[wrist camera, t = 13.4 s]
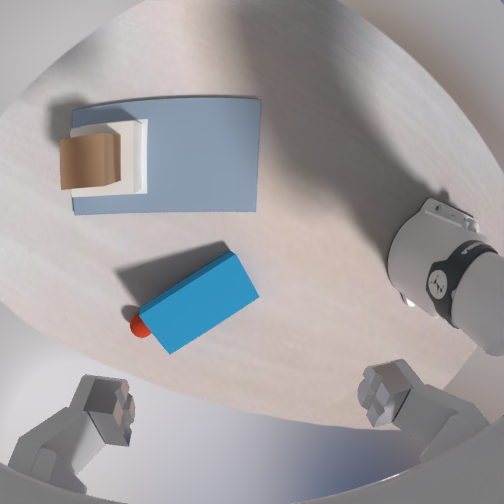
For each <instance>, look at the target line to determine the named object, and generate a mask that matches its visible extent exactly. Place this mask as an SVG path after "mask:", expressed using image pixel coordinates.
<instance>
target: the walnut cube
mask: <svg viewBox="0 0 504 504" xmlns="http://www.w3.org/2000/svg"><path fill="white" fill-rule="evenodd" d="M60 175H61V190H65V189H76V188H88V187H101V186H107V185H110V184H112V183H115V182H118V181H121V135H116V134H108V133H100V134H92V135H85V136H78V137H72V138H66V139H60Z"/></svg>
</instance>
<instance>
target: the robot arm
mask: <svg viewBox="0 0 504 504" xmlns="http://www.w3.org/2000/svg"><path fill="white" fill-rule="evenodd" d="M388 274H389V278H390V280H391V282H392V284H393V286H394V287H395V288H396V289H397V290H398V291H399V292H401V294H402V296H403V299H404V302H405V304H406V305H408V306H409V307H413V306H415V305H417V306H418V307H419V308H421V309H422V310H424V311H425V312H426V313H428V314H429V315H431V316H432V317H434V318H438V317H442V319H444V321H445V322H446V323H448V324H449V325H451V326H453V327H454V328H457V329H461V330H462V331H463V332H464V333H465V334H466V335H467V336H469V337H470V338H471V339H472V340H473V341H474V342H475V343H476V344H477V345H478V346H480V347H481V348H482V349H483V350H484V351H485V352H486V353H487V354H489V355H491V356H503V355H504V257H502V256H500V255H499V254H498V253H497V252H496V251H495V250H494V249H493V248H492V247H491V246H490V244H489V240H488V238H487V237H486V236H484V235H482V234H480V233H479V222H478V221H477V220H476V219H474V218H472V217H470V216H468V215H466V214H464V213H462V212H460V211H458V210H456V209H454V208H452V207H450V206H448V205H446V204H443V203H441V202H439V201H437V200H435V199H432V198H429V199H428V200H426V202H425V203H424V205H423V206H422V208H421V209H420V211H419V212H418V213H417V214H416V215H414V216H413V217H411V218H410V219H409V220H408V221H407V222H406V223H405V224H404V225H403V226H402V227H401V228H400V230H399V231H398V233H397V235H396V236H395V238H394V240H393V243H392V245H391V248H390V252H389V257H388ZM363 375H364V377H365V379H364V380H363V381H362V382H361V383H360V384H359V387H358V399H359V402H360V404H361V406H362V407H364V408H365V409H367V410H368V411H367V414H366V415H367V417H368V419H369V421H370V423H371V425H372V426H373V428H374V427H378V426H382V425H385V424H389V423H392V422H393V423H392V424H394V425H395V426H397V427H398V428H400V429H401V430H403V431H405V432H406V433H407V434H409V435H410V436H412V437H413V438H415V439H416V440H418V441H419V442H421V443H422V444H424V445H426V446H427V448H426V449H425V451H424V452H423V453H422V454H421V456H420V459H421V461H422V464H420V465H418V466H415V467H413V468H411V469H408V470H406V471H404V472H401V473H399V474H396V475H394V476H391V477H389V478H386V479H383V480H380V481H378V482H375V483H372V484H369V485H366V486H363V487H360V488H356V489H353V490H350V491H346V492H343V493H339V494H335V495H331V496H327V497H323V498H319V499H313V500H309V501H303V502H298V503H292V504H504V415H503V416H501V417H500V418H499V419H498V420H496V421H495V422H493V423H492V424H490V423H489V422H488V421H487V419H486V418H485V417H484V416H483V414H482V413H481V412H480V411H479V410H478V408H477V407H476V406H475V405H474V404H472V403H470V402H468V401H465V400H463V399H461V398H458V397H456V396H454V395H451V394H449V393H447V392H445V391H442V390H440V389H438V388H435V387H433V386H431V385H429V384H426V385H424V383H423V382H422V381H421V380H420V378H419V377H418V376H417V375H416V373H415V372H414V371H413V370H412V368H411V367H410V366H409V365H408V364H407V362H406V361H405V360H403V359H398V360H394V361H391V362H386V363H381V364H377V365H372V366H368V367H367V368H366V369H365V370H364V373H363ZM128 391H129V385H128V382H127V380H125V379H117V378H109V377H101V376H93V375H87V374H85V375H84V376H83V377H82V378H81V381H80V383H79V385H78V388H77V390H76V392H75V394H74V397H73V399H72V401H71V404H70V406H69V408H67V407H65V408H63V409H62V410H60V411H59V412H57V413H56V414H54V415H53V416H51V417H50V418H48V419H47V420H45V421H44V422H43V423H41V424H39V425H38V426H36V427H35V428H33V429H32V430H30V431H29V432H27V433H26V434H24V435H23V436H21V437H20V438H19V439H18V442H17V444H16V447H15V449H14V451H13V454H12V456H11V458H10V461H9V463H8V466H6V465H4V464H2V463H0V504H126V503H120V502H115V501H110V500H106V499H101V498H96V497H93V496H89V495H86V492H87V487H86V486H85V485H84V484H83V483H82V482H81V481H80V480H79V478H77V476H76V475H77V474H78V473H79V472H80V471H81V470H82V469H83V468H84V467H85V466H86V465H87V464H88V463H89V462H90V461H91V460H92V459H93V458H94V456H96V455H97V454H98V453H99V452H100V451H101V449H102V448H103V447H104V446H105V445H106V444H112V445H119V446H129V443H130V438H131V433H132V431H131V429H130V426H129V425H130V424H131V423H133V422H134V417H135V404H134V400H133V397H132V396H131V395H130V394H129V393H128Z"/></svg>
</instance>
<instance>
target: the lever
mask: <svg viewBox="0 0 504 504" xmlns="http://www.w3.org/2000/svg"><path fill="white" fill-rule="evenodd" d="M257 298H259V295H258V293H257V291H256V290H255V288H254V286H253V284H252V283H251V281H250V279H249V277H248V275H247V274H246V272H245V270H244V268H243V266H242V265H241V263H240V261H239V259H238V257H237V255H236V254H234V253H233V252H231V251H230V252H228V253H226V254H224V255H222V256H220V257H219V258H217V259H216V260H214V261H212V262H211V263H209V264H208V265H206V266H204V267H203V268H201V269H200V270H198V271H197V272H195V273H193V274H192V275H190V276H189V277H187V278H186V279H184V280H182V281H181V282H179V283H178V284H176V285H175V286H173V287H171V288H170V289H168V290H167V291H165V292H164V293H162V294H160V295H159V296H157V297H156V298H154V299H153V300H151V301H150V302H148V303H146V304H145V305H143V306H142V307H140V308H139V315H136V316H135V317H133V318H132V320H131V322H130V328H131V331H132V333H133V334H134V335H135V336H137V337H140V338H144V337H147V336H149V335H150V333H151V332H152V333H153V335H154V336H155V337H156V338H157V340H158V341H159V342H160V343H161V345H162V346H163V347H164V348H165V350H166V351H167V352H168V353H169V354H172V353H173V352H175V351H176V350H178V349H180V348H181V347H183V346H184V345H186V344H188V343H189V342H191V341H192V340H194V339H196V338H197V337H199V336H200V335H202V334H203V333H205V332H207V331H208V330H210V329H211V328H213V327H214V326H216V325H218V324H219V323H221V322H222V321H224V320H225V319H227V318H228V317H230V316H231V315H233V314H234V313H236V312H237V311H239V310H240V309H242V308H244V307H245V306H247V305H248V304H250V303H251V302H253V301H254V300H256V299H257Z"/></svg>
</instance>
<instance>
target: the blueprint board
mask: <svg viewBox="0 0 504 504" xmlns="http://www.w3.org/2000/svg"><path fill="white" fill-rule="evenodd" d="M260 106H261V99H243V98H173V99H156V100H143V101H132V102H123V103H115V104H107V105H101V106H94V107H88V108H82V109H77V110H73V114H72V129H73V128H79V127H85V126H92V125H99V124H107V123H116V122H125V121H136V122H139V123H142V124H143V130H142V189H141V190H139V191H137V192H136V193H134V194H114V195H97V196H83V197H73V202H74V214H75V215H93V214H117V213H150V212H256V202H257V178H258V154H259V130H260Z"/></svg>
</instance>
